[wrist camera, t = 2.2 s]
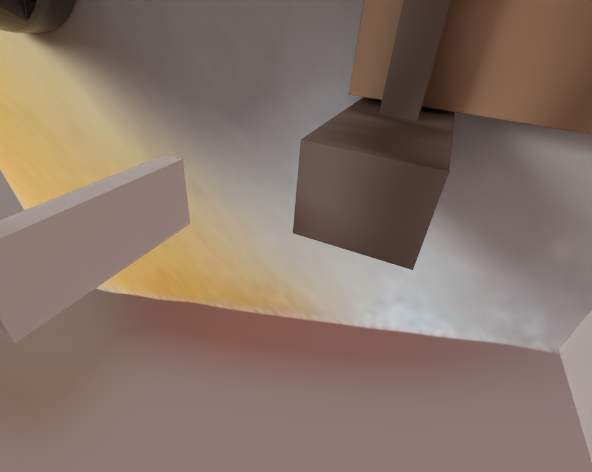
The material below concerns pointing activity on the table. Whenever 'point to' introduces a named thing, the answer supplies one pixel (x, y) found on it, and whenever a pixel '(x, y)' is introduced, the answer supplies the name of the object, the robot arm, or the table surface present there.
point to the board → (494, 60)
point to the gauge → (382, 154)
